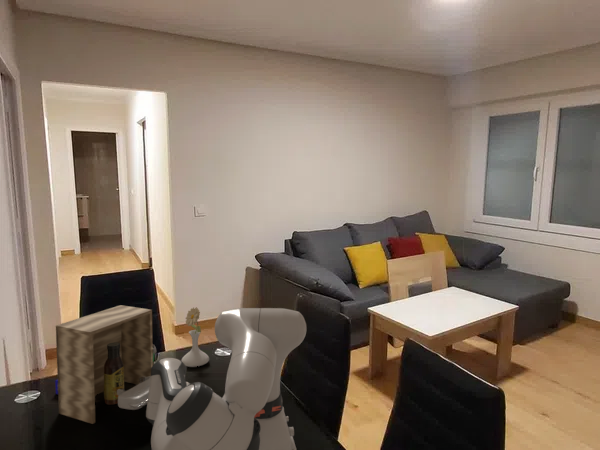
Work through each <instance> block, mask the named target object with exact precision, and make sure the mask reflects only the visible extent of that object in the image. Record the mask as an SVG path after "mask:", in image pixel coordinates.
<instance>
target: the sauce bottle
mask: <svg viewBox="0 0 600 450" xmlns="http://www.w3.org/2000/svg"><path fill="white" fill-rule="evenodd" d="M107 349H108V359H107V360H106V362H105V364H104V391H103V398H104V403H105V405H111V406H113V405H118V396H119V395H117V390H118V389H120V388H124V389H125V382H124V365H123V362H122V360H121V357H120V343H118V342H114V343H109V344H108V345H107Z"/></svg>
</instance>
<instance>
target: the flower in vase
mask: <svg viewBox="0 0 600 450" xmlns="http://www.w3.org/2000/svg"><path fill="white" fill-rule="evenodd" d="M200 314H201V311H200V309H199V308H198V307H192V308H190V310H188V311H187V314H186V317H185V325H187V327H192V328H193V330H192V329H191V330H189V331H188V334H189V335H190V338H191V341H192V347H191V349H190V351H188V352H187V353H186V354H185V355H183V357H182V358H181V359H180V360H181V361H182V362H183V363H184V364H185V366H186V367H187V368H188V367H189V368H197V366H198V367H200V366H201V367H202V366H204V365H206V364H207V363H209V361H210V357H209V355H208V354H207V353H206V352H204V351H203V350H201V349H200V348H199V337H200V334H201V333H202V329H201V325H199V322H198V320H199V319H200ZM196 324H197V325H196Z"/></svg>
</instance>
